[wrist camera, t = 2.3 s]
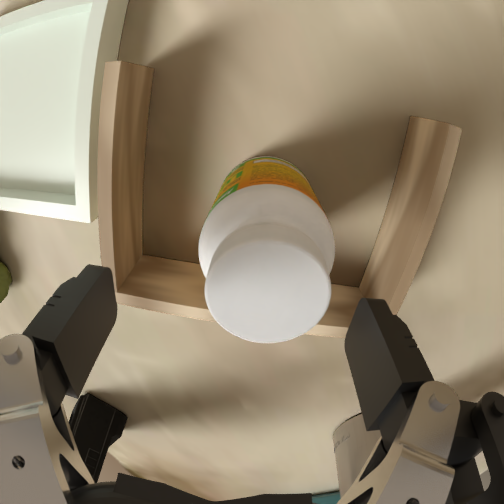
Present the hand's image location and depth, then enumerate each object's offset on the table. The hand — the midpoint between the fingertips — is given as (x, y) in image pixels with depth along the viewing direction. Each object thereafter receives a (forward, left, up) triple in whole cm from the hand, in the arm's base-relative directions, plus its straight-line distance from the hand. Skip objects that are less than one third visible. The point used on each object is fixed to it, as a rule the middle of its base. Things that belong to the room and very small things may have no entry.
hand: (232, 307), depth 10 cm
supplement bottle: (-1, 0, -10) cm, 10 cm away
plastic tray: (+16, -5, -10) cm, 20 cm away
